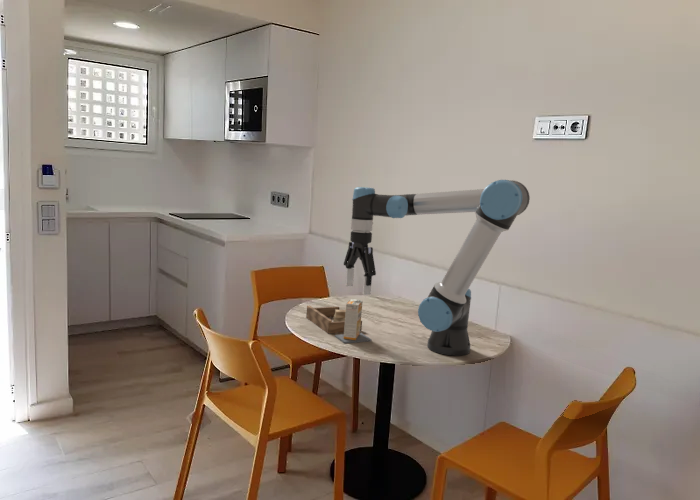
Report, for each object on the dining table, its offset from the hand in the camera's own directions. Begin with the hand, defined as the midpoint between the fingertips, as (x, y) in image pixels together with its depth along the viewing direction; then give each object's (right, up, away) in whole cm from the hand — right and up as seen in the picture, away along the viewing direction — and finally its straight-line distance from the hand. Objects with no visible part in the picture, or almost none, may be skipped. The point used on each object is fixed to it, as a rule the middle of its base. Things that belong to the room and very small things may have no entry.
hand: (357, 290), depth 203 cm
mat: (-2, -18, +3) cm, 18 cm away
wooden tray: (-9, -15, +19) cm, 26 cm away
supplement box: (-2, -17, +3) cm, 18 cm away
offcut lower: (-5, -15, +22) cm, 27 cm away
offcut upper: (-5, -12, +21) cm, 25 cm away
